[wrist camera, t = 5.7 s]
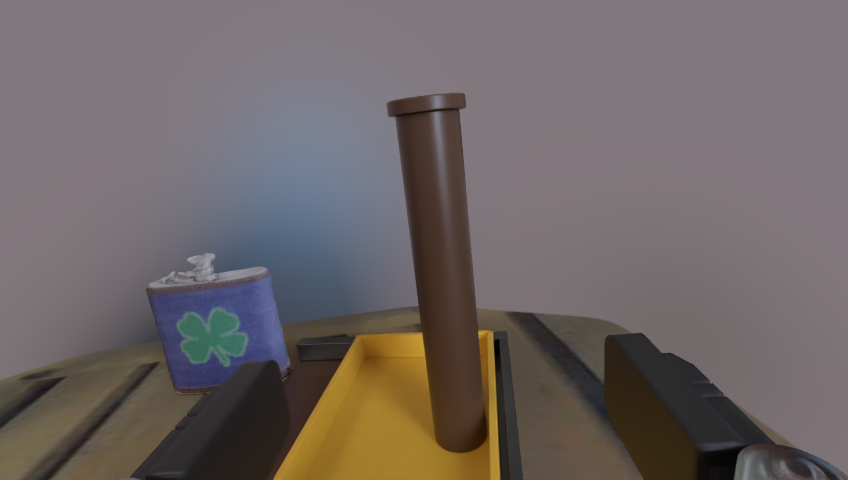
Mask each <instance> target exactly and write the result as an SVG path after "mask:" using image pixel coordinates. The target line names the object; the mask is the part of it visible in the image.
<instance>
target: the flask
mask: <svg viewBox="0 0 848 480" xmlns="http://www.w3.org/2000/svg"><path fill="white" fill-rule="evenodd" d="M214 258H215V255H214V254H208V253H206V254H204V256H202V255H199V256H194V257H190V258H188V262H189V263H192V264H194V265H195V267H194V268H193V269H192V270H190V271H187V273H183V272H178V274H179V275H176V272H172V273H171V274H169V275H168V276H166V277H163V279H160V280H157V281H154V282H152V283H150V284H149V285H148V286H147V289H146V292H147V295H148V298H149V302H150V305H151V308H152V311H153V315H154V318H155V323H156V326H157V328H158V332H159V334H160V338H161V342H162V345H163V350H164V354H165V358H166V362H167V365H168V369H169V372H170V375H171V378H172V381H173V385H174V387H175V393H178V394H203V393H209V392H211V391H212V390H213V389H215V388H216V387H218V386H219V385H221V384H224V383H225V382H226V381H227V379H228V378H229V377H230V376H231V375H232V374H233V373H234V371H235V370H236V369H237V368H238V367H239V366H240V365H241V364H242V363H243V362H251V361H265V360H275V361H276V362H277V363H278V365H279V368H280V372H281V376H282V378H283V377H284V376H285V375H287V374H288V373H289V370H288V369H287V368H290V360H289V356H288V352H287V348H286V344H285V341H284V336H283V330H282V326H281V323H280V319H279V316H278V311H277V305H276V301H275V297H274V291H273V287H272V278H271V275H270V272H269V270H268V269H267V268H265V267H253V268H248V269H242V270H235V271H228V272H222V273H214V267H213V264H212V263H211V261H212V260H213V259H214Z"/></svg>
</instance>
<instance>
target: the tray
mask: <svg viewBox="0 0 848 480" xmlns="http://www.w3.org/2000/svg"><path fill="white" fill-rule="evenodd" d="M465 107H466V100H465V94H463V93H447V94H435V95H426V96H418V97H411V98H404V99H399V100H394V101H390V102H388V103H387V111H388V116H389V117H395V119H396V126H397V135H398V143H399V151H400V159H401V167H402V174H403V183H404V191H405V199H406V207H407V215H408V223H409V231H410V238H411V247H412V255H413V263H414V270H415V278H416V287H417V295H418V303H419V311H420V319H421V327H422V332H421V333H393V334H365V335H357V337H356V338H355V340H354V342H353V344H352V345H351V347H350V349H349V350H348V352H347V354H346V356H345V357H344V359H343V361H342V362H341V364H340V366H339V367H338V369H337V371H336V373H335V374H334V376H333V378H332V379H331V381H330V383H329V385H328V386H327V388H326V390H325V391H324V393H323V395H322V396H321V398H320V400H319V402H318V403H317V405H316V407H315V408H314V410H313V412H312V414H311V415H310V417H309V419H308V420H307V422H306V424H305V426H304V427H303V429H302V431H301V432H300V434H299V436H298V437H297V439H296V441H295V443H294V444H293V446H292V448H291V449H290V451H289V453H288V455H287V456H286V458H285V460H284V461H283V463H282V465H281V466H280V468H279V470H278V472H277V473H276V475H275V477H274V478H273V480H501V473H500V453H499V432H498V412H497V392H496V372H495V354H494V341H493V330H478V323H477V312H476V300H475V289H474V276H473V265H472V253H471V242H470V231H469V218H468V206H467V195H466V183H465V172H464V160H463V148H462V136H461V125H460V114H459V109H464V108H465Z"/></svg>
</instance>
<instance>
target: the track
mask: <svg viewBox="0 0 848 480" xmlns="http://www.w3.org/2000/svg"><path fill="white" fill-rule="evenodd" d="M355 338H356V337H332V338H303V339H301V340H300V341H299V342H298V344H297V348H298V353H299V358H300V360H301V361H300V362H299V363H298V365H297V366H296V367H295V369H294V370H293V371H292V373H291V374H290V375H289V377H288V378H287V379H286V380H285V382H284V383H283V385H284V389H285V393H286V398H287V402H288V406H289V411H290V418H291V423H290V431H289V436H288V439H287V441H286V443H285V445H284V447H283V449H282V451H281V453H280V455H279V457H278V459H277V461H276V463H275V465H274V467H273V469H272V471H271V473H270V475H269V477H268V479H267V480H273V478H274V477H275V475H276V473H277V472H278V470H279V468H280V466H281V465H282V463H283V461H284V460H285V458H286V456H287V455H288V453H289V451H290V449H291V448H292V446H293V444H294V443H295V441H296V439H297V437H298V436H299V434H300V432H301V431H302V429H303V427H304V426H305V424H306V422H307V420H308V419H309V417H310V415H311V414H312V412H313V410H314V408H315V407H316V405H317V403H318V402H319V400H320V398H321V396H322V395H323V393H324V391H325V390H326V388H327V386H328V385H329V383H330V381H331V379H332V378H333V376H334V374H335V373H336V371H337V369H338V367H339V366H340V364H341V362H342V361H343V359H344V357H345V356H346V354H347V352H348V350H349V349H350V347H351V345H352V344H353V342H354V340H355ZM493 341H494V354H495V372H496V392H497V412H498V432H499V453H500V473H501V480H523V474H522V465H521V456H520V447H519V438H518V429H517V421H516V412H515V403H514V394H513V385H512V376H511V367H510V358H509V349H508V340H507V332H505V331H504V332H493Z"/></svg>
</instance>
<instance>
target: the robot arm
mask: <svg viewBox="0 0 848 480" xmlns="http://www.w3.org/2000/svg"><path fill="white" fill-rule="evenodd" d="M604 352H605V402H606V407H607V411H608V414H609V417H610V419H611V421H612V423H613V425H614V427H615V429H616V430H617V432H618V434H619V436H620V438H621V439H622V441H623V443H624V445H625V447H626V448H627V450H628V452H629V454H630V456H631V457H632V459H633V461H634V463H635V464H636V466H637V468H638V470H639V472H640V473H641V475H642V477H643V479H644V480H848V476H847V475H846V474H844V473H843V472H841V471H840V470H839V469H837V468H836V467H834V466H833V465H831V464H829V463H828V462H826V461H824V460H822V459H820V458H818V457H816V456H814V455H812V454H809V453H807V452H804V451H801V450H798V449H795V448H791V447H788V446H783V445H777V444H775V443H774V442H773V441H772V440H771V439H770V438H769V437H768V436H767V435H766V434H765V433H764V432H763V431H761V430H760V429H759V428H758V427H757V426H756V425H755V424H754V423H753V422H752V421H751V420H750V419H749V418H748V417H747V416H746V415H745V414H744V413H743V412H742V411H741V410H740V409H739V408H738V407H737V406H736V405H735V404H734V403H733V402H731V401H730V400H729V399H728V398H727V397H724V396H723V393H722V392H721V391H720V390H719V389H718V388H717V387H716V386H715V385H714V384H713V383H712V384H710V381H709V380H708V378H707V377H706V376H704V375H703V374H702V373H701V372H700V371H699V370H698V369H697V368H696V367H695V366H694V365H693V364H691V363H689V362H687V361H685V360H683V359H681V358H680V357H678V356H676V355H674V354H672V353H661V352H660V351H659V350H658V349H657V348H656V347H655V346H654V345H653V344H652V343H651V341H650V340H649V339H648V338H647V337H646V336H645V335H644V334H642V333H632V334H619V335H608V336H607V337H606V339H605V347H604ZM290 423H291V418H290V411H289V406H288V402H287V398H286V393H285V389H284V385H283V380H282V376H281V372H280V368H279V365H278V363H277V362H276V361H275V360H265V361H251V362H243V363H242V364H241V365H240V366H239V367H238V368H237V369H236V370H235V371H234V373H233V374H232V375H231V376H230V377H229V378H228V379H227V381H226V382H225V383H224V384H221V385H219V386H218V387H216V388H215V389H213V390H212V391H211V392H209V393H208V394H206V395H205V396H203V397H202V398H201V399H200V400H199V401H198V402H197V403H196V404H195V406H194V407H193V408H192V409H191V410H190V411H189V412H188V413H187V417H184V418H183V419H182V420H181V421H180V422H179V423H178V424H177V426H176V427H175V430H172V431H171V432H170V433H169V434H168V436H167V437H166V438H165V439H164V440H163V441H162V442H161V443H160V444H159V446H158V447H157V448H156V449H155V450H154V451H153V452H152V453H151V454H150V456H149V457H148V458H147V459H146V460H145V461H144V462H143V463H142V464H141V466H140V467H139V468H138V469H137V470H136V471H135V472H134V473H133V474H132V476H131V477H130V478H123V479H118V480H267V479H268V477H269V475H270V473H271V471H272V469H273V467H274V465H275V463H276V461H277V459H278V457H279V455H280V453H281V451H282V449H283V447H284V445H285V443H286V441H287V439H288V436H289V431H290Z"/></svg>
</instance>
